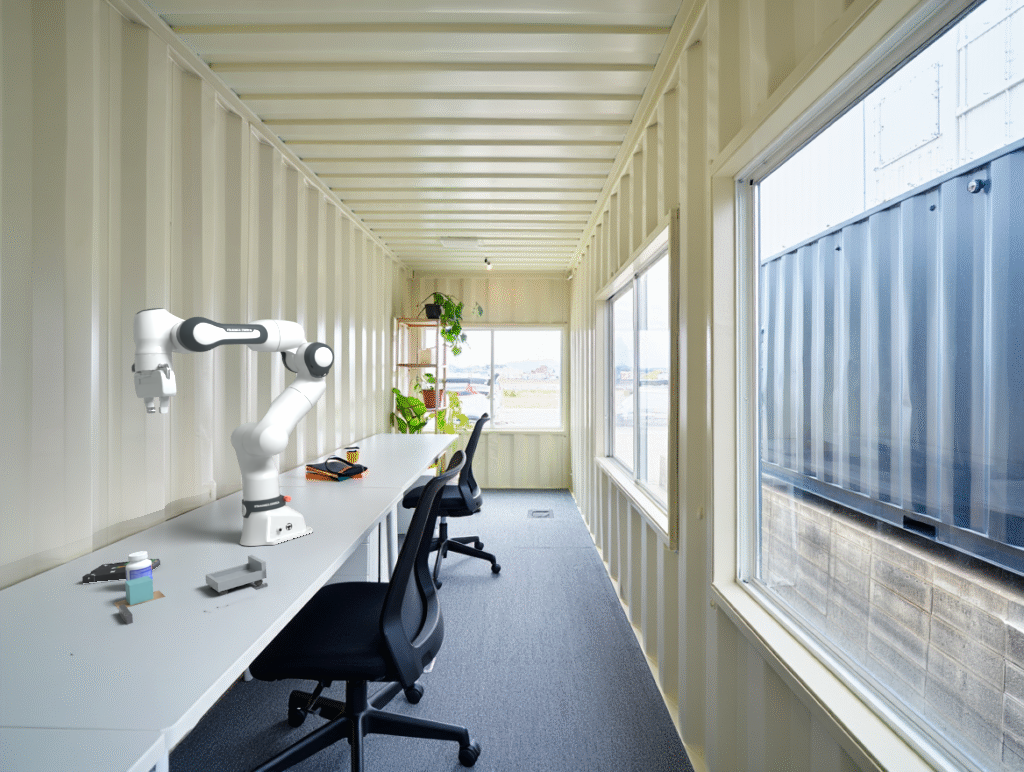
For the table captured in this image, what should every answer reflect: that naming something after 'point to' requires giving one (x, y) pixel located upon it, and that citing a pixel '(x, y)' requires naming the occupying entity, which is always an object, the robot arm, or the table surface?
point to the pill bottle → (138, 566)
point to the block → (139, 590)
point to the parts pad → (155, 594)
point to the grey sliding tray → (238, 575)
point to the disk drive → (112, 571)
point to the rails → (127, 614)
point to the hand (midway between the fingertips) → (157, 413)
